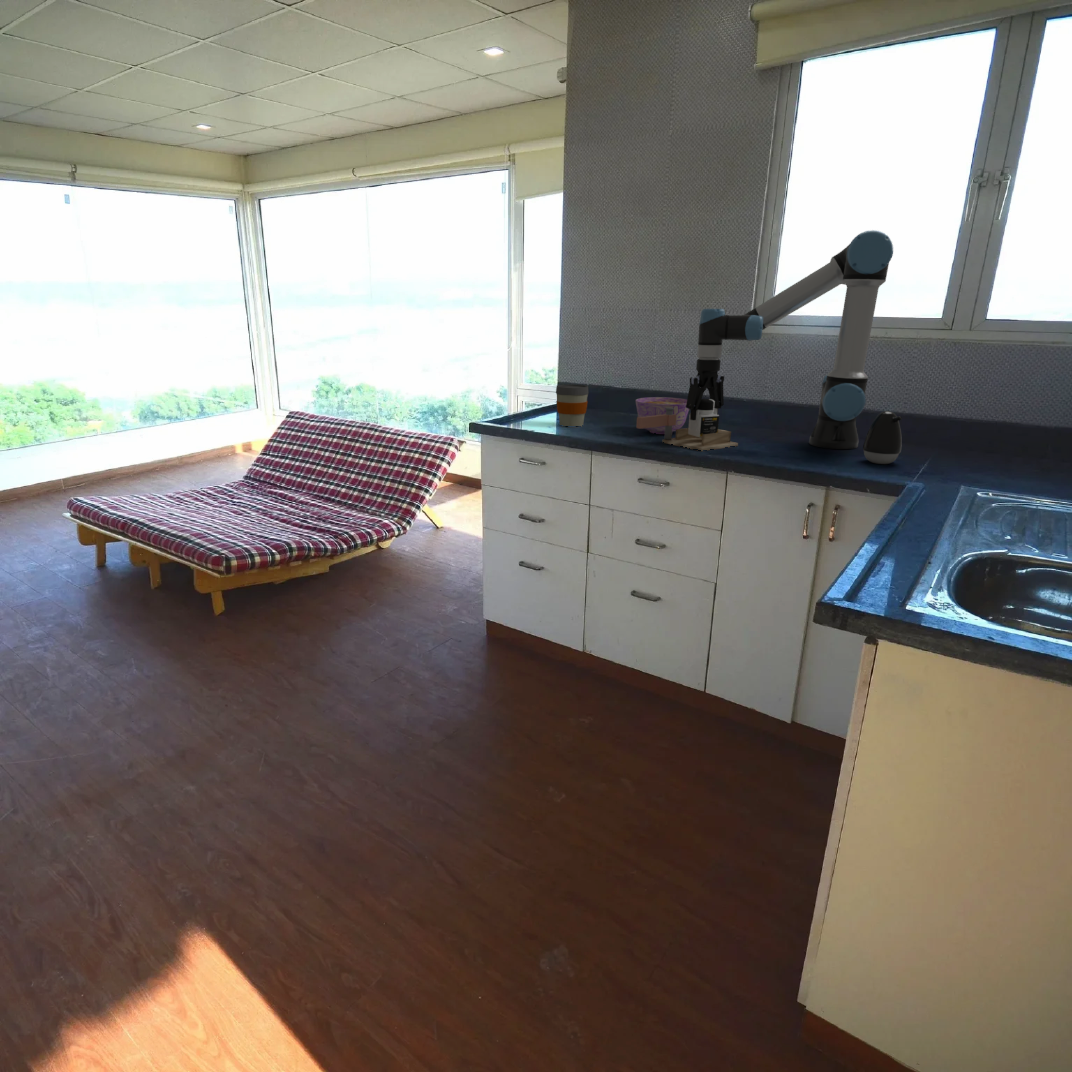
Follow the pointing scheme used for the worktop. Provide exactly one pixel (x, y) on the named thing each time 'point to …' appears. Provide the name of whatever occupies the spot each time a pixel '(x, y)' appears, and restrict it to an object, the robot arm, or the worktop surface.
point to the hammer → (659, 422)
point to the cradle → (702, 440)
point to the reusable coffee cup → (571, 404)
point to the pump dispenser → (883, 439)
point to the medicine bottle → (705, 419)
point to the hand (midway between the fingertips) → (703, 428)
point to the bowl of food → (662, 410)
